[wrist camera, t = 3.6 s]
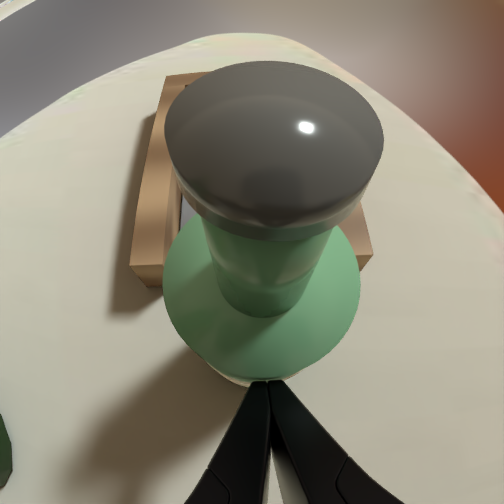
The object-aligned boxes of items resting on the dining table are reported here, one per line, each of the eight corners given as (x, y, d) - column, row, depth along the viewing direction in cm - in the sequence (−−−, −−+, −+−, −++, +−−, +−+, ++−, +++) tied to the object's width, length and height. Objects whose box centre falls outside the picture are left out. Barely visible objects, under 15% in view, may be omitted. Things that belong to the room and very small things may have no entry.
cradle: (356, 276, 21) (373, 254, 18) (146, 286, 20) (129, 265, 17) (312, 98, 29) (316, 70, 26) (172, 103, 29) (166, 75, 26)
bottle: (231, 402, 17) (112, 433, 2) (197, 320, 19) (67, 81, 4) (315, 366, 18) (530, 222, 3) (278, 288, 20) (333, 20, 5)
